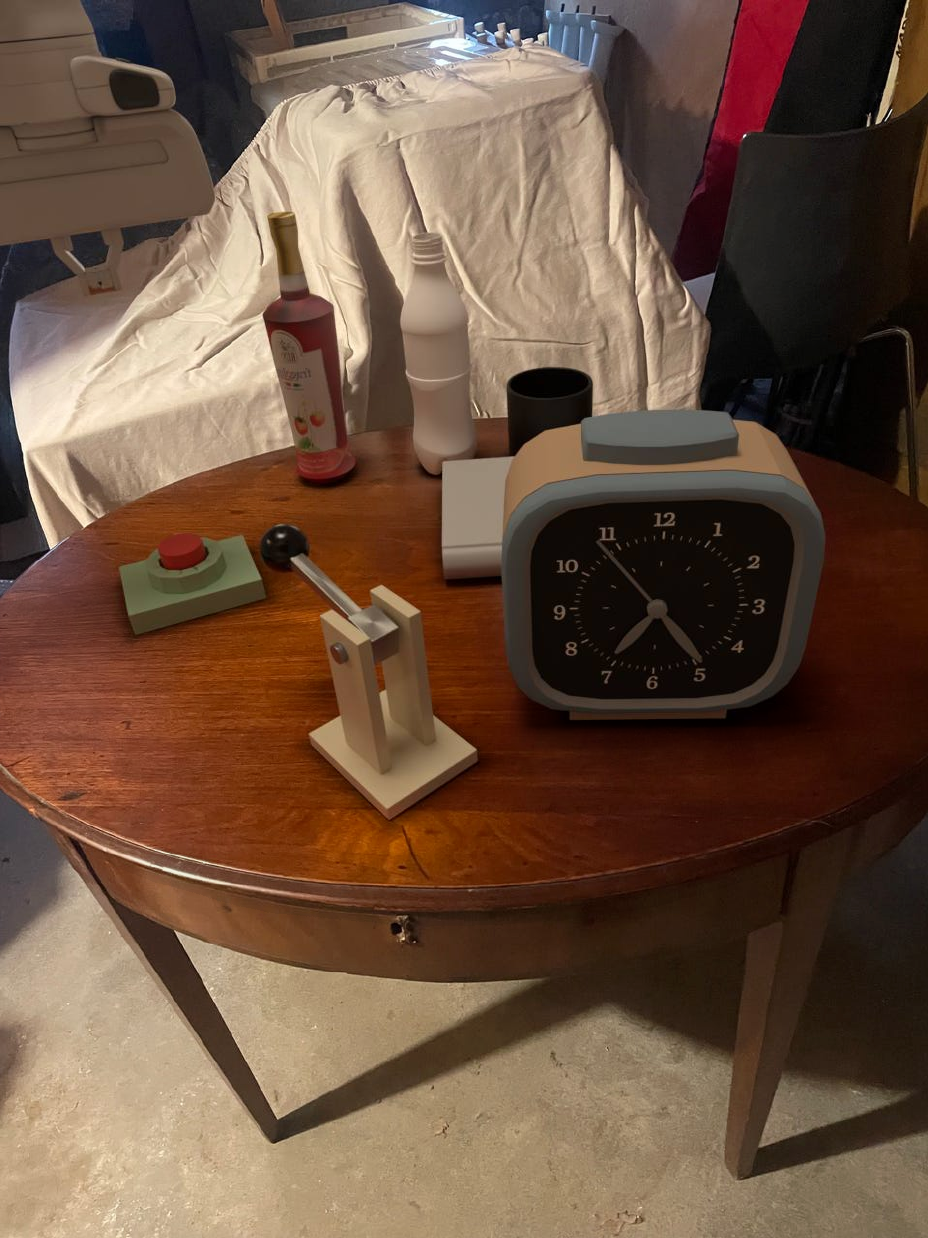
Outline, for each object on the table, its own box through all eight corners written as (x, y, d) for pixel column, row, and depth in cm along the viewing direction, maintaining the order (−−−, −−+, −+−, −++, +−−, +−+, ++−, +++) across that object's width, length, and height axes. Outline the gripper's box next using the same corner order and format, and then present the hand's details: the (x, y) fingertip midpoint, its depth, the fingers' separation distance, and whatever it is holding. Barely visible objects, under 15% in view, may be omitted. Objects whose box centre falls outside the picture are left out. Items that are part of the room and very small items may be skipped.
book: (442, 461, 94) (667, 445, 93) (445, 492, 96) (665, 477, 95) (441, 552, 79) (709, 534, 78) (445, 587, 81) (704, 570, 81)
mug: (549, 425, 108) (549, 353, 103) (608, 461, 99) (610, 384, 94) (483, 446, 105) (479, 372, 99) (537, 484, 96) (536, 406, 91)
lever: (252, 564, 65) (246, 526, 62) (294, 545, 67) (290, 507, 64) (364, 678, 58) (362, 640, 55) (407, 653, 59) (408, 616, 57)
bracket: (310, 745, 66) (277, 607, 58) (396, 695, 70) (375, 559, 62) (389, 820, 59) (363, 677, 52) (478, 761, 63) (466, 619, 56)
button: (166, 576, 79) (160, 560, 78) (160, 555, 82) (155, 539, 81) (210, 564, 80) (205, 548, 79) (202, 544, 83) (198, 528, 82)
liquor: (370, 465, 103) (333, 207, 86) (336, 494, 97) (290, 225, 81) (318, 456, 105) (272, 204, 89) (283, 484, 100) (227, 222, 84)
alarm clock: (509, 730, 66) (495, 469, 53) (511, 650, 73) (499, 405, 60) (792, 727, 64) (849, 457, 51) (763, 645, 71) (807, 392, 58)
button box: (135, 635, 79) (122, 599, 76) (125, 585, 85) (113, 550, 83) (266, 598, 82) (257, 562, 79) (247, 553, 89) (238, 518, 86)
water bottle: (409, 458, 103) (383, 233, 88) (467, 447, 105) (451, 223, 90) (425, 485, 98) (400, 249, 83) (486, 472, 99) (472, 238, 84)
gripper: (-129, 109, 56) (-41, 327, 64) (193, 76, 61) (236, 279, 70) (-118, 102, 61) (-38, 305, 69) (180, 71, 66) (222, 262, 74)
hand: (102, 292), depth 69 cm, fingers closed
